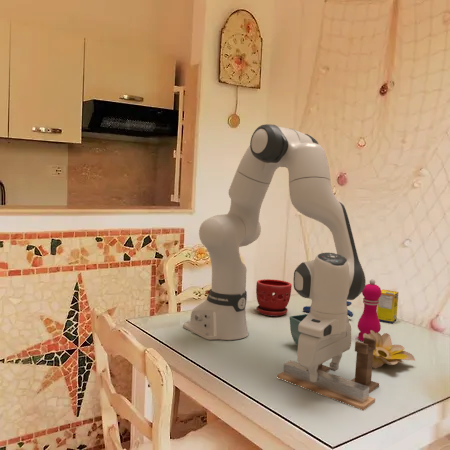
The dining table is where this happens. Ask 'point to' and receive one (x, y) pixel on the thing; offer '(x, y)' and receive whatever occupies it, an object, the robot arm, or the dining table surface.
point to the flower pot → (296, 326)
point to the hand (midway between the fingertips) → (324, 375)
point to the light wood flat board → (328, 393)
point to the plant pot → (273, 296)
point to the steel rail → (328, 382)
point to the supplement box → (387, 306)
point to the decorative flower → (387, 350)
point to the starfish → (349, 313)
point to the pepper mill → (369, 310)
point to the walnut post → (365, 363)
